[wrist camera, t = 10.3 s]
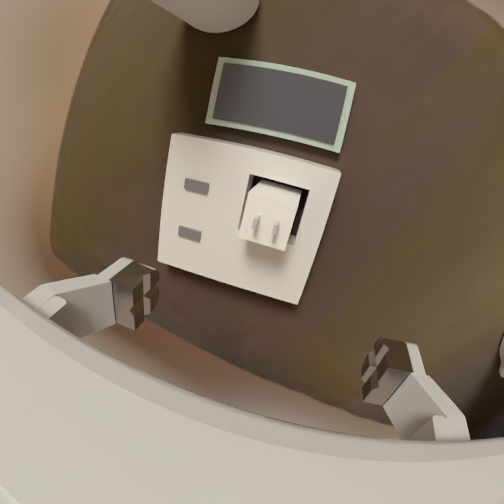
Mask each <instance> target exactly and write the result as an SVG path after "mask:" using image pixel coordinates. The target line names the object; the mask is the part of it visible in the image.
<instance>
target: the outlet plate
mask: <svg viewBox="0 0 504 504" xmlns="http://www.w3.org/2000/svg"><path fill="white" fill-rule="evenodd" d="M254 175H256V176H260V177H264V178H268V179H271V180H275V181H279V182H283V183H286V184H290V185H293V186H297V187H300V188H304V189H307V190H309V192H308V195H307V199H306V202H305V206H304V209H303V213H302V216H301V219H300V223H299V226H298V230H297V233H296V236H293V235H289V238H288V241H287V245H286V248H285V251H282V250H278V249H275V248H272V247H269V246H265V245H262V244H259V243H255V242H252V241H249V240H245V239H242V238H239V237H238V236H239V232H240V227H241V223H242V218H243V214H244V210H245V205H246V201H247V197H248V192H249V191H250V190H251V187H252V183H253V179H254ZM340 176H341V172H340V171H339V170H338V169H335V168H331V167H328V166H325V165H321V164H318V163H315V162H311V161H308V160H304V159H300V158H297V157H293V156H289V155H286V154H282V153H278V152H274V151H270V150H266V149H262V148H257V147H253V146H249V145H244V144H240V143H235V142H230V141H225V140H220V139H215V138H210V137H205V136H199V135H193V134H187V133H174V134H172V136H171V142H170V148H169V155H168V162H167V169H166V177H165V185H164V193H163V202H162V212H161V223H160V234H159V248H158V261H159V262H162V263H165V264H168V265H171V266H174V267H177V268H180V269H183V270H186V271H189V272H192V273H195V274H198V275H202V276H205V277H208V278H211V279H214V280H217V281H220V282H223V283H227V284H230V285H233V286H236V287H239V288H243V289H246V290H249V291H252V292H256V293H259V294H262V295H266V296H269V297H272V298H276V299H279V300H283V301H286V302H289V303H293V304H296V305H298V302H299V299H300V297H301V294H302V291H303V289H304V286H305V283H306V280H307V278H308V275H309V272H310V269H311V266H312V263H313V261H314V258H315V255H316V252H317V249H318V246H319V243H320V240H321V237H322V234H323V231H324V228H325V225H326V222H327V219H328V215H329V212H330V209H331V206H332V203H333V199H334V196H335V193H336V190H337V186H338V183H339V180H340Z"/></svg>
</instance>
